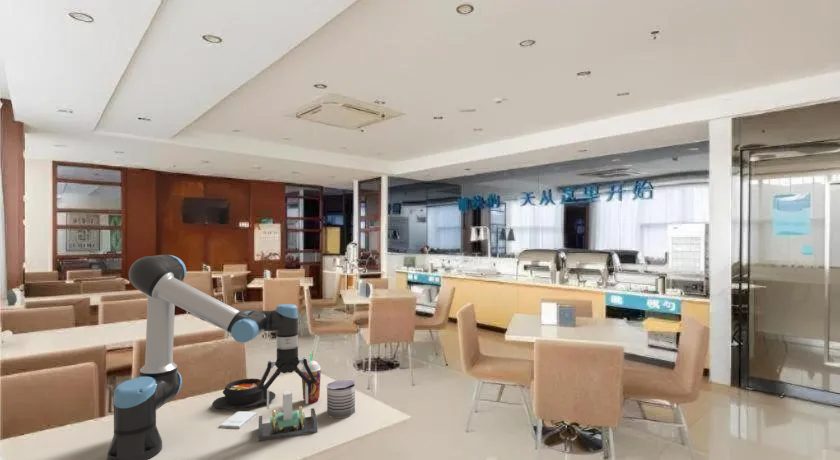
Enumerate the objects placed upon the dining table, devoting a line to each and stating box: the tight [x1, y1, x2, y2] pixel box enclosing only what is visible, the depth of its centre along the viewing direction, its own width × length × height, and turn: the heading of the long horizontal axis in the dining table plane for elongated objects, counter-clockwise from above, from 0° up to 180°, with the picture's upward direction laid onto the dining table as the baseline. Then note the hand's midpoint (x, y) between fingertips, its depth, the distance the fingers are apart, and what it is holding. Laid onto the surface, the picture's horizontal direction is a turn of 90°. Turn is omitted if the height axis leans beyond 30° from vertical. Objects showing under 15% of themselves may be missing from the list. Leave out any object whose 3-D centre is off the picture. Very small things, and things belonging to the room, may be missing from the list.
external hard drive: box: [218, 410, 257, 429], centre depth 167 cm, size 2×8×12 cm
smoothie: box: [300, 353, 322, 404], centre depth 186 cm, size 8×8×20 cm
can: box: [326, 378, 356, 419], centre depth 174 cm, size 11×11×12 cm
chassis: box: [258, 405, 318, 442], centre depth 158 cm, size 20×11×6 cm, turn 110°
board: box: [269, 389, 306, 428], centre depth 158 cm, size 12×10×10 cm
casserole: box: [211, 378, 276, 409], centre depth 184 cm, size 25×19×8 cm
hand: (287, 404), depth 158 cm, fingers open, 13 cm apart
